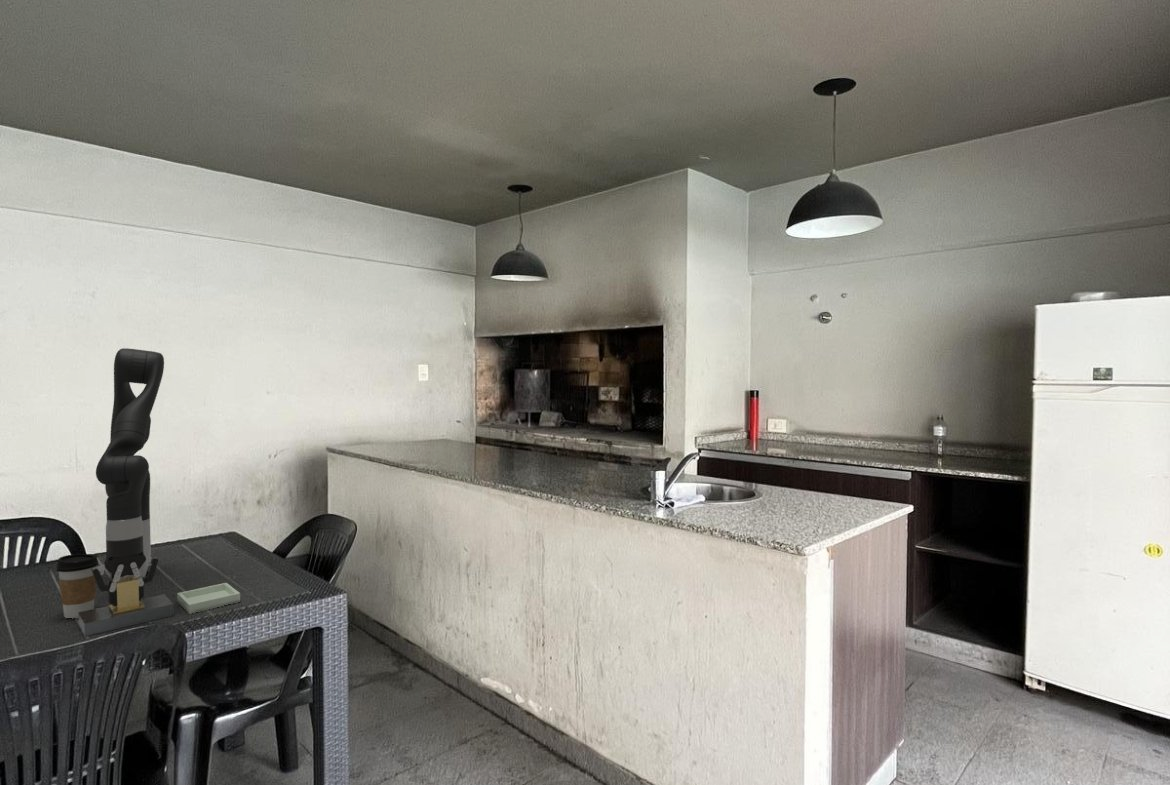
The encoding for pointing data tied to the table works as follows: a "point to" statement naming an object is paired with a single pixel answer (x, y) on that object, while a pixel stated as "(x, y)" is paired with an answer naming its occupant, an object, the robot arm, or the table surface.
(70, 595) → the coffee cup
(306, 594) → the table surface
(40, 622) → the table surface
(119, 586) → the brass plug
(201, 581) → the table surface
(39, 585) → the table surface
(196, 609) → the parts tray
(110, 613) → the grey metal block
